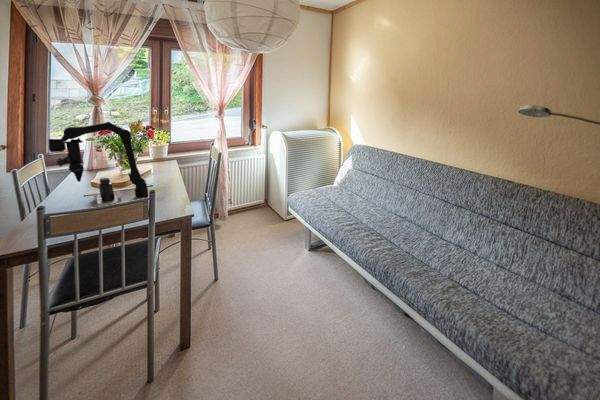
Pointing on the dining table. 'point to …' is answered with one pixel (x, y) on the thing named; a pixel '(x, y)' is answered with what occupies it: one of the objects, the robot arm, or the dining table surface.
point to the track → (99, 202)
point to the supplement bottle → (106, 189)
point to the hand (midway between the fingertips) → (79, 179)
